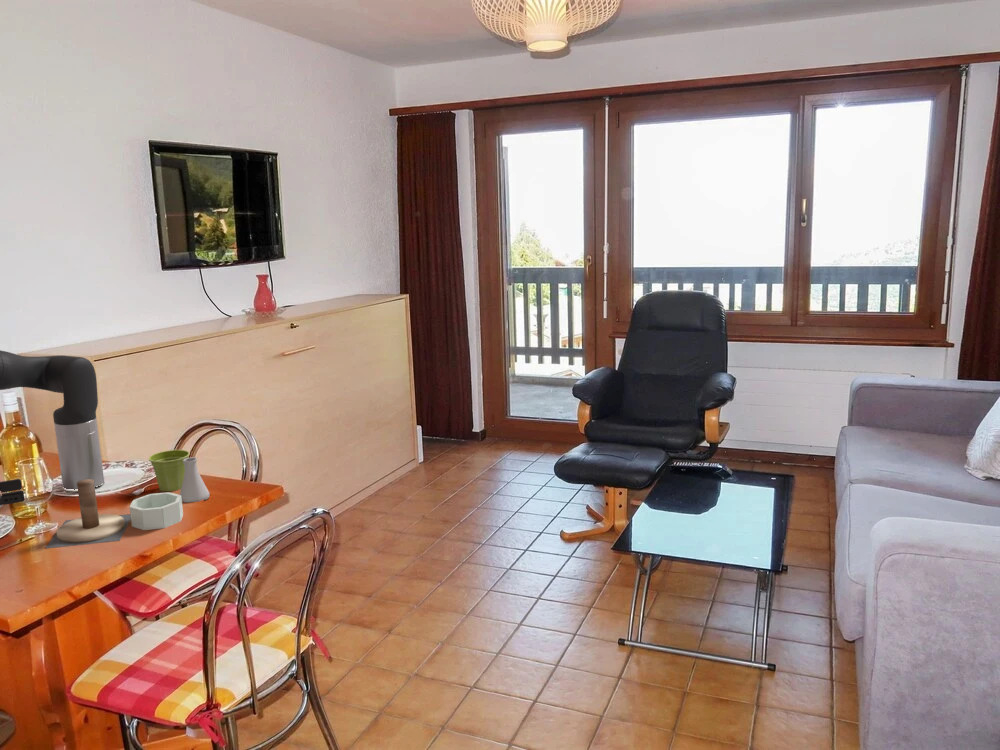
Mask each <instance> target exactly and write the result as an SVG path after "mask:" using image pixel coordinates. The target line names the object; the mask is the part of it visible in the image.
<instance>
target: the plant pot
mask: <svg viewBox="0 0 1000 750" xmlns="http://www.w3.org/2000/svg"><path fill="white" fill-rule="evenodd" d="M190 453H191V452H189V451H188V450H187V449H186V450H184V449H171V450H170V449H169V450H164V451H160V452H155V453H153V454H151V455H150V456H148V461H149V462H150V463H151V465H152V467H153V471H154V473H155V474H154V475H155V478H156V481H157V485H158V488H159V491H160V492H173V491H178V490H181V487H182V483H183V479H184V473H185V465H184V463H183V460H184V459H186V458H189V456H190V455H191V454H190Z"/></svg>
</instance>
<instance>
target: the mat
mask: <svg viewBox="0 0 1000 750" xmlns="http://www.w3.org/2000/svg"><path fill="white" fill-rule="evenodd" d="M117 515H118V516H121V517H123V518H124V521H125V527H124V528H123V529H122V530H121V531H120V532H118V533H116V534H114V535H112V536H109V537H107V538H104V539H100V540H96V541H91V542H83V543H68V542H63V541H60V540H59V539H58V538H57V532H55V534H54V535H53V537H52V538H51V539H50V541H49V543H47V545H46V546H45V549H54V548H55V549H56V548H62V547H63V548H65V547H73V546H74V547H75V546H83V545H93V544H101V543H103V544H104V543H111V542H120V541H121V538H122V536H123V535H124V534H125V531H126V529H127V527H128V526H129V524H130V523H131V515H130V513H129V514H117ZM72 520H73V519H68V520H67V519H66V520H65V521H64V522H63V523H62V525H64V524H65V523H67V522H70V521H72Z"/></svg>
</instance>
